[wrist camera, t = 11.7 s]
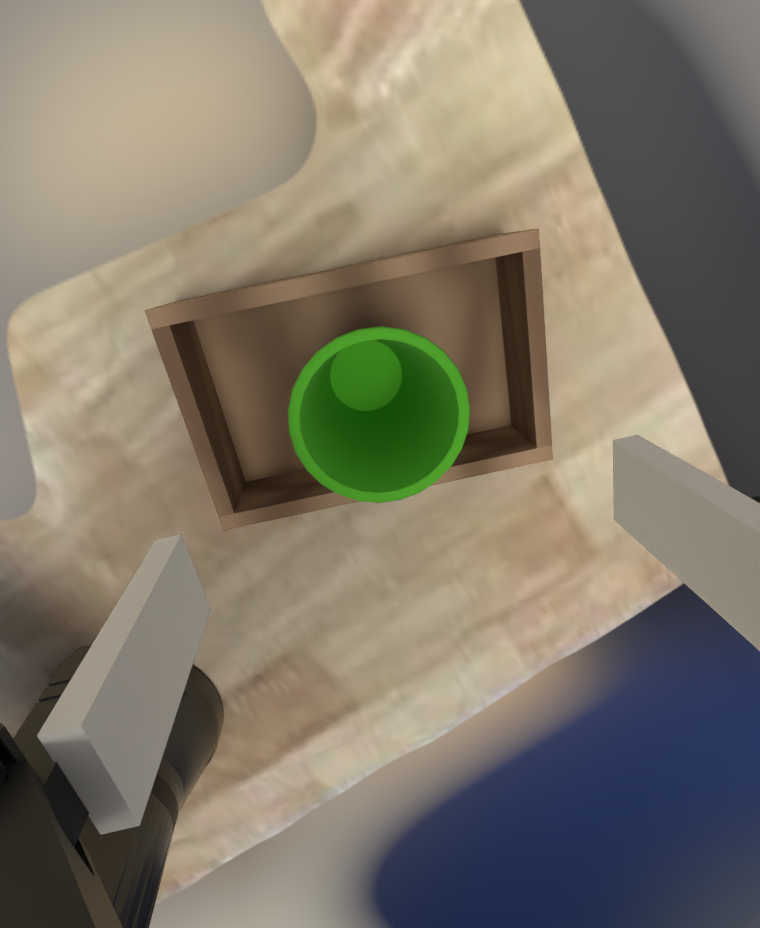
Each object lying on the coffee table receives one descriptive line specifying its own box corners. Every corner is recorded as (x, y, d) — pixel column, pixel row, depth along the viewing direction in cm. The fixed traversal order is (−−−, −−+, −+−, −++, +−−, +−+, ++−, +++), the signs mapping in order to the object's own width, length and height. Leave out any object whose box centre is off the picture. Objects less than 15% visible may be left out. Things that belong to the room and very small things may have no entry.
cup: (288, 314, 33) (271, 340, 23) (425, 298, 33) (467, 316, 23) (310, 443, 37) (303, 515, 26) (434, 427, 37) (474, 491, 27)
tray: (238, 491, 38) (223, 530, 33) (175, 301, 33) (144, 310, 28) (520, 430, 39) (552, 459, 33) (503, 233, 33) (538, 228, 28)
